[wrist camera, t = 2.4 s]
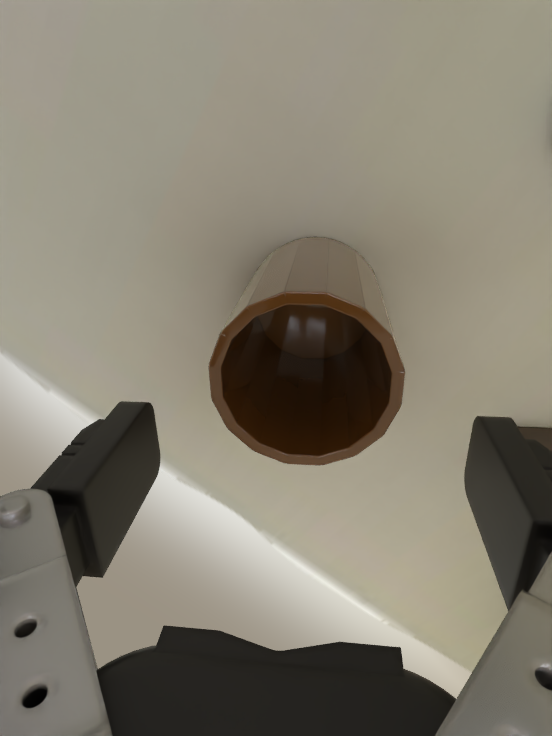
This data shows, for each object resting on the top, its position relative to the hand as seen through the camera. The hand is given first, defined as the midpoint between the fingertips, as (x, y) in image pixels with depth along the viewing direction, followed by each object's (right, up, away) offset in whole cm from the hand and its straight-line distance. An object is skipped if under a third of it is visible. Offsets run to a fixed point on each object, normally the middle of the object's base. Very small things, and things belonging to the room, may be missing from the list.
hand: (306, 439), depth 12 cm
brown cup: (+1, +5, +10) cm, 12 cm away
